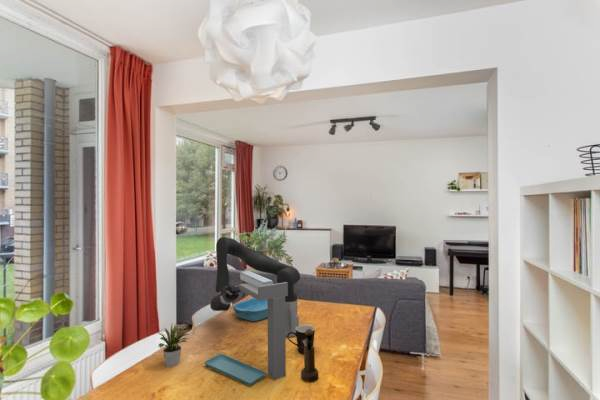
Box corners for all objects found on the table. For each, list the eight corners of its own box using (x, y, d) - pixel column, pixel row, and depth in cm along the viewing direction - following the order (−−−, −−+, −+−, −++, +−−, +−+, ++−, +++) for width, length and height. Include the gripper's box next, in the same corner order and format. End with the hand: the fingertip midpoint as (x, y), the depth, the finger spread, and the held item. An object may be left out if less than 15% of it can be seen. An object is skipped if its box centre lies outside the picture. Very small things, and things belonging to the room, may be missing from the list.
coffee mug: (317, 348, 145) (317, 326, 145) (311, 357, 136) (311, 333, 137) (293, 345, 148) (293, 323, 149) (286, 353, 140) (286, 330, 140)
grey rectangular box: (240, 279, 143) (240, 271, 143) (248, 278, 145) (248, 270, 145) (263, 290, 123) (263, 282, 123) (272, 289, 125) (272, 280, 125)
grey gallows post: (239, 361, 133) (239, 277, 134) (265, 354, 139) (265, 273, 140) (260, 384, 116) (259, 287, 116) (289, 375, 122) (288, 282, 123)
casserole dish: (267, 302, 215) (267, 292, 215) (294, 308, 202) (294, 297, 202) (225, 318, 185) (225, 306, 185) (253, 326, 172) (253, 313, 172)
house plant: (165, 378, 120) (165, 334, 121) (143, 368, 128) (143, 327, 128) (196, 362, 132) (196, 322, 133) (174, 354, 140) (174, 317, 140)
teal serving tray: (267, 377, 121) (267, 371, 121) (250, 389, 114) (250, 382, 114) (221, 358, 136) (221, 353, 136) (203, 367, 129) (203, 361, 129)
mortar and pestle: (300, 373, 123) (299, 326, 124) (316, 372, 124) (316, 325, 124) (301, 382, 117) (301, 333, 117) (319, 381, 117) (319, 332, 117)
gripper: (214, 289, 159) (223, 278, 147) (241, 285, 167) (252, 275, 155) (216, 304, 156) (226, 294, 144) (244, 300, 163) (255, 290, 151)
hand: (239, 284), depth 149 cm, fingers open, 8 cm apart
